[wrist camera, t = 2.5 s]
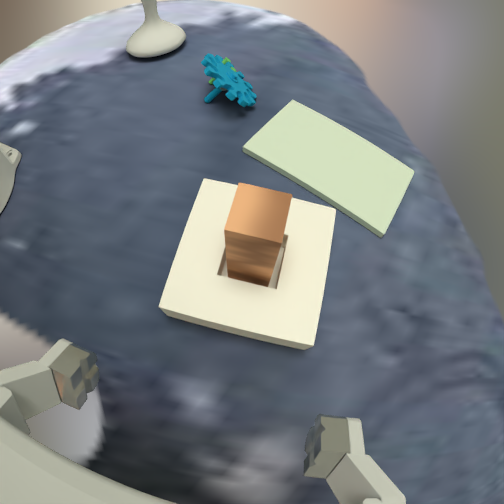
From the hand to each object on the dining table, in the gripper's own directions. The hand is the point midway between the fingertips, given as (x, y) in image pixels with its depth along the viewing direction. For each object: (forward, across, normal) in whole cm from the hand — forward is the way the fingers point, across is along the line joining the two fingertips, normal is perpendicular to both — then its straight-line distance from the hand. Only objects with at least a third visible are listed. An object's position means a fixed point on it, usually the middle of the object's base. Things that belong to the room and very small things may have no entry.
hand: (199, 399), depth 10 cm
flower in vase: (+49, +28, -21) cm, 61 cm away
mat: (+35, -6, -6) cm, 36 cm away
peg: (+22, 0, +5) cm, 23 cm away
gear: (+41, +10, -12) cm, 44 cm away
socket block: (+23, 0, +6) cm, 24 cm away
